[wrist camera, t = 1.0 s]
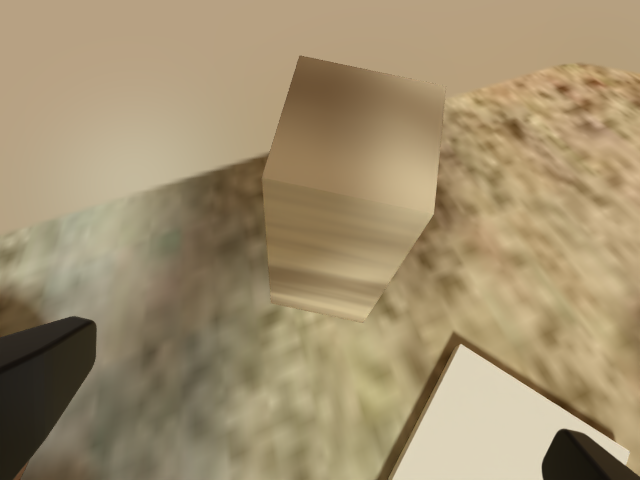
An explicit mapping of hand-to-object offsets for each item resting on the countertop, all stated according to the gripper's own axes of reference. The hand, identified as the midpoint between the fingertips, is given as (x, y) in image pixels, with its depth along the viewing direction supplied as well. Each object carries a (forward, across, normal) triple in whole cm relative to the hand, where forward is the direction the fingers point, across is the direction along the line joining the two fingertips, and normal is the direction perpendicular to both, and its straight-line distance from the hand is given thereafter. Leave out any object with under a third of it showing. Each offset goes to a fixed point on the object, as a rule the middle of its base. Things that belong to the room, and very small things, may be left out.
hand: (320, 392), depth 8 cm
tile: (+9, -10, +10) cm, 17 cm away
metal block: (+16, 0, +4) cm, 16 cm away
